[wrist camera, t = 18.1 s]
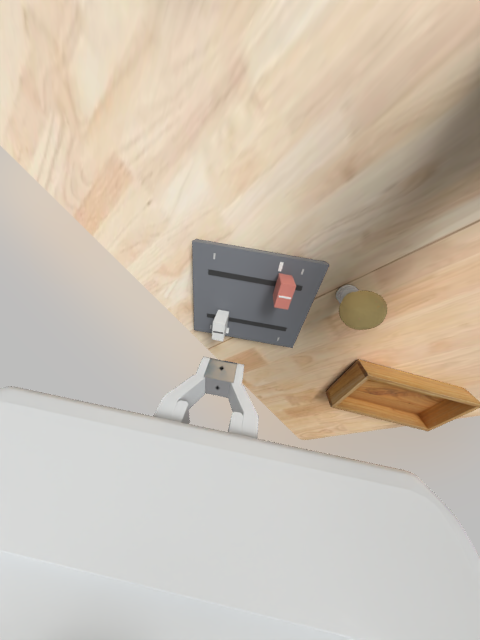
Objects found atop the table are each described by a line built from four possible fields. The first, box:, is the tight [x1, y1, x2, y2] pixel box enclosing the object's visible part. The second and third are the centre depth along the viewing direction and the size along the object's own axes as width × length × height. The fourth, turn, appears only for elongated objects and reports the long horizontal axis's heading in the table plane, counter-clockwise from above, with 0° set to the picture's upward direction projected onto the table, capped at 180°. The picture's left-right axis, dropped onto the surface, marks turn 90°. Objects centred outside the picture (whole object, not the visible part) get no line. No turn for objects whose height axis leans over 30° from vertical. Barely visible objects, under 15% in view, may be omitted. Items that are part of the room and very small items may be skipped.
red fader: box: [273, 273, 296, 310], centre depth 30 cm, size 2×4×5 cm, turn 172°
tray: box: [326, 359, 480, 431], centre depth 46 cm, size 31×15×6 cm, turn 75°
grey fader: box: [212, 310, 229, 341], centre depth 36 cm, size 2×4×5 cm, turn 172°
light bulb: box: [336, 285, 387, 330], centre depth 29 cm, size 6×6×10 cm
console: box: [192, 239, 329, 348], centre depth 36 cm, size 24×20×2 cm
